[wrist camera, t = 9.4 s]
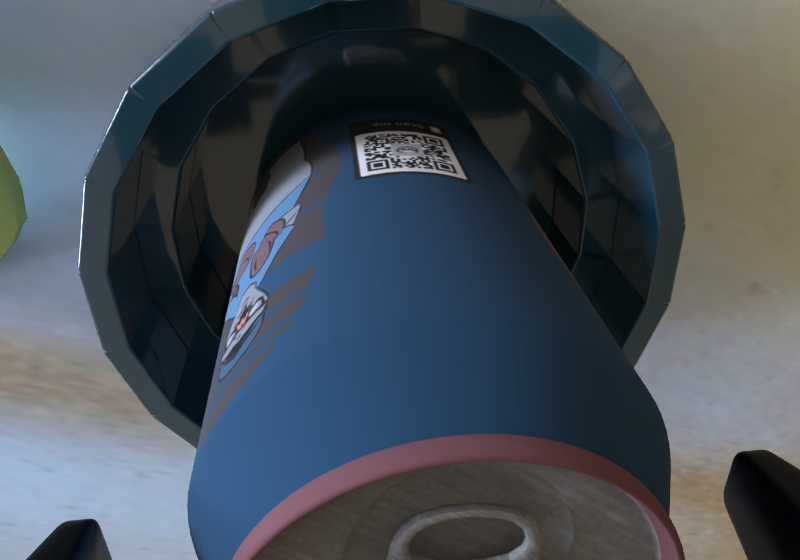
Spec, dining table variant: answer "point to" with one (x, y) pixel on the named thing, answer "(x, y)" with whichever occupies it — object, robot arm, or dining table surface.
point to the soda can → (418, 370)
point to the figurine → (10, 204)
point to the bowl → (339, 92)
